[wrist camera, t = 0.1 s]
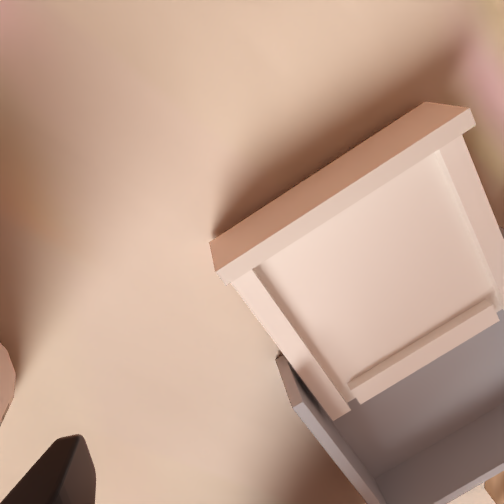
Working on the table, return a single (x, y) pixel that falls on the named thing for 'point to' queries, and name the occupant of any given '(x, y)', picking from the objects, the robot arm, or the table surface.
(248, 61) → the table surface
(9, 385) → the supplement can
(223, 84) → the table surface
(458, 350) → the housing
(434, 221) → the tray
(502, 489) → the pedestal
